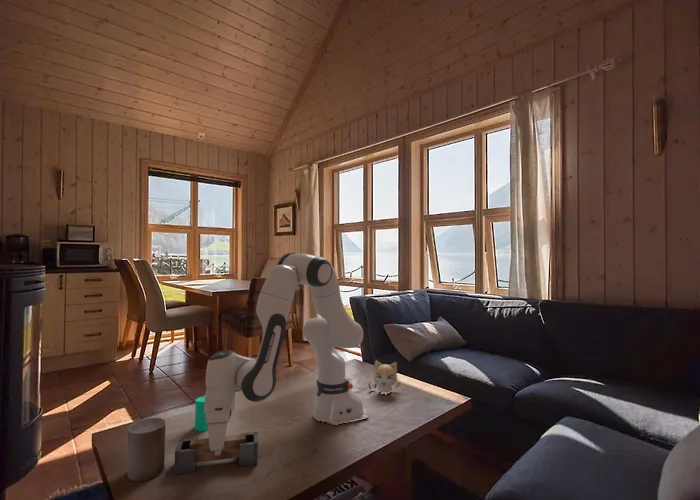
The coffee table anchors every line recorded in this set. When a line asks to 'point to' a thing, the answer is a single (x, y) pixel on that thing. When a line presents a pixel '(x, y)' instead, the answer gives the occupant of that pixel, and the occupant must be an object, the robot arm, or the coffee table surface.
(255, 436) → the endcap
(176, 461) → the endcap
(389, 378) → the kitten
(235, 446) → the slat
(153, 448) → the pillar candle
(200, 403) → the candle
